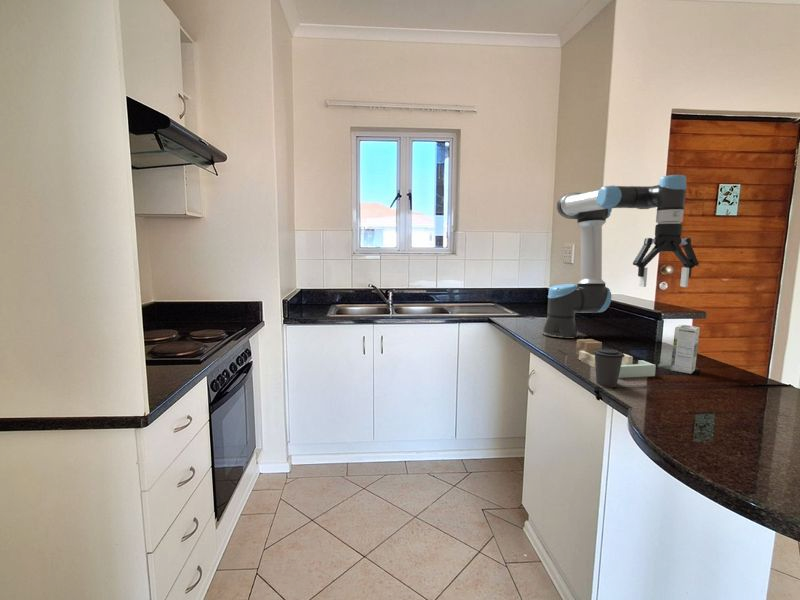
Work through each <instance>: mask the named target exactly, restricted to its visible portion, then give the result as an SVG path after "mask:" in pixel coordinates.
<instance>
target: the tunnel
mask: <svg viewBox="0 0 800 600" xmlns="http://www.w3.org/2000/svg"><path fill="white" fill-rule="evenodd" d="M612 350H614V349H612ZM622 353H623V354H624V357H623V358H622V363H621V365H633V362H634V361H633V359H634V357H633V356H632V355H629V354H627V353H624V352H622ZM578 359H579V360H581V361H582V362H581V361H580V362H581V363H583V362H584V363H583V364H585V363H586V364H585V365H587V364H588V365H587V366H590V367H592V368H594V369H596V368H595V355H592V354H590V353H588V352H585V351H579V356H578ZM579 360H578V361H579Z"/></svg>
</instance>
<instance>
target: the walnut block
mask: <svg viewBox="0 0 800 600" xmlns="http://www.w3.org/2000/svg"><path fill="white" fill-rule="evenodd" d="M598 349H603V342H602V341H599V340H595V339H593V338H587V339H585V338H582V339H576V349H575V350H576V351H575V355H576V354H578V355H579V351H585V352H588V353H590V354H592V355H595V354H594V353H593V352H594V351H595V350H598Z"/></svg>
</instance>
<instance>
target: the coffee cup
mask: <svg viewBox="0 0 800 600" xmlns="http://www.w3.org/2000/svg"><path fill="white" fill-rule="evenodd" d="M593 353H594V354H595V368H594V369H595V379H596V380H595V381H596V384H597V385H599V386H604V387H612V388H613V387H617V386H618V384H619V383H618V381H619V373H620V368H621V363H622V358H623V357H624V354H625V353H624V352H621V351H619V350H616V349H613V350H612V349H611V348H602V349H598V350H595V351H594V352H593ZM623 353H624V354H623Z"/></svg>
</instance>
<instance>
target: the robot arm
mask: <svg viewBox="0 0 800 600" xmlns="http://www.w3.org/2000/svg"><path fill="white" fill-rule="evenodd" d="M686 192H687V177H686V176H685V175H683V174H670V175H664V176H662V177H660V178H659V182H658V184H657V185H652V186H651V185H649V186H648V185H647V186H645V185H643V186H640V185H639V186H638V185H637V186H635V185H634V186H633V185H630V186H627V185H626V186H624V185H622V186H621V185H619V186H618V185H605V186H602V187H601V188H600V189H596V190H591V191H587V192H568V193H565V194H563V195H562V196H561V197H559V199H558V200H557V203H556V211H557V213H558V214H559V215H560V216H562V217H563V218H565V219H568V220H577V225H578V226H579V228H580V280H579V281H578V282H577V283H576V284H575V283H563V284H555V285H552V286H550V287H549V289H548V295H547V316H546V320H545V323H544V325H543V328H542V333H543V332H545V333H548V334H551V335H556V336H563V337H577V336H578V337H579V330H578V326H577V323H576V320H575V318H576V313H577V314H580V313H581V314H582V313H583V314H584V313H587V314H588V313H592V314H596V313H603V312H605V311H606V310H607V309H608V308H609V306H610V304H611V302H612V292H611V288H608V286H606V282H605V281H604V280H603V279H602V278H603V277H602V273H603V272H602V271H603V270H602V269H603V267H602V264H603V262H602V261H603V260H602V259H603V255H602V254H603V226H604V225H605V224H606V222H607V219H608V218H609V217H610V216H611V213H612V210H613V209H637V210H649V209H655V208H656V216H655V217H656V218H655V223H657V224H656V225H655V227H654V228H655V229H654V238H652V237H646V238H645V239H644V241H643V245H642V246H641V248H640V250H639V252H638V253H637V256H635V259H634V260H633V262H632V265H633V266H636V267H638V269H637V276H638V277H639V287H642V288H643V287H644V288H645V287H647V278H648V267H646V266H647V265H648V264H649V263H650V262H652V260H653V259H654V258H655V257H656V256H657V255H658V254H659V253H661V252H672V253H674V255H675V256H676V257H677V259H678V260H679V261H680V262H681V264H682V265H683V267H681V275H680V284H679V285H680V287H683V288H688V287H689V278H691V276H692V269H693V268H695V266H697V267H698V266H699V264H700V263H699V261H698V259H697V256H696V253H695V252H694V248H693V246H692V239H691V238H690V237H684V238H681V235H682V234H683V224H682V223H683V221H684V211H685V202H686V194H687V193H686ZM653 244H654V246H653V247H652V245H653ZM680 245H682V248H683V249H684V250H683V249H682V248H681V246H680ZM651 247H652V248H651ZM650 248H651V250H650ZM649 250H650V252H648V251H649ZM684 252H685V253H684ZM578 337H577V338H578Z"/></svg>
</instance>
